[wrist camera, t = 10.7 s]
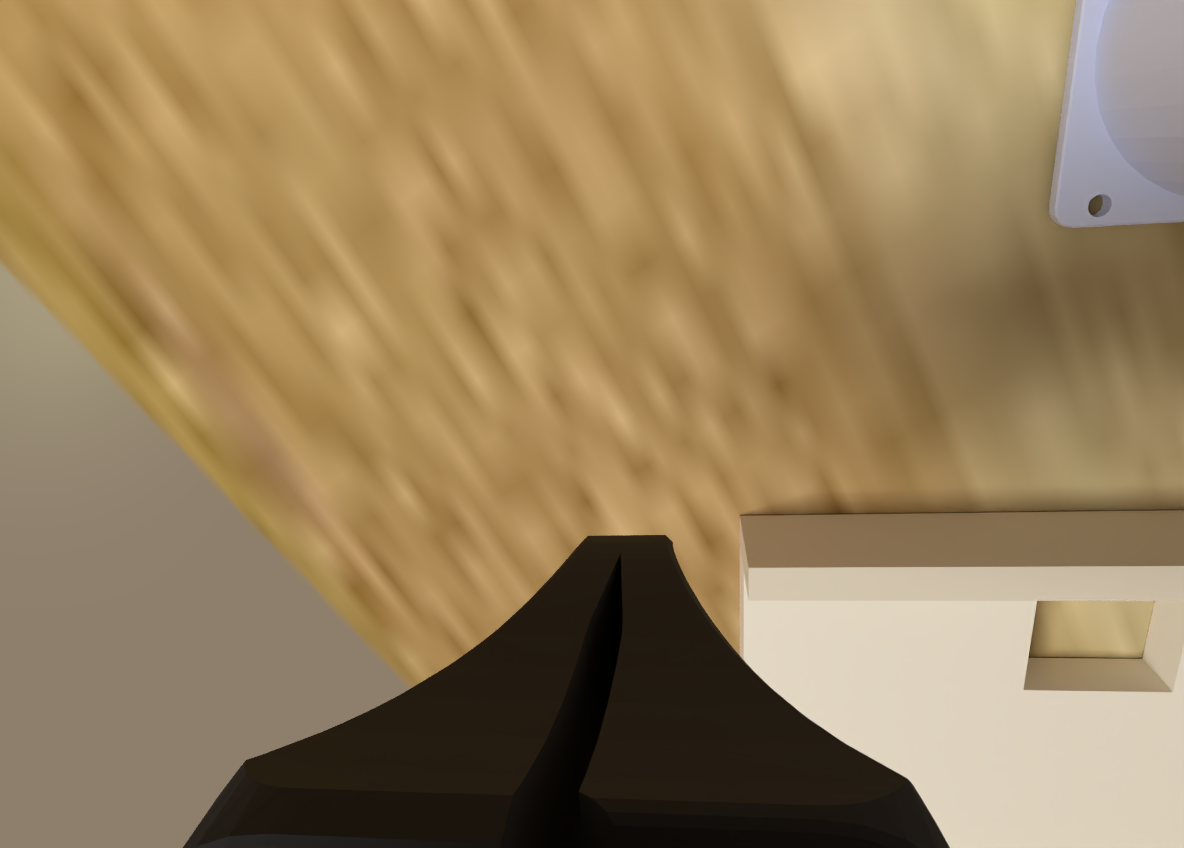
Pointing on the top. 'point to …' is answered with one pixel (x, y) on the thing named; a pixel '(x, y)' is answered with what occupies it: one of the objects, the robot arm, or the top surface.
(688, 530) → the top surface
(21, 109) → the top surface
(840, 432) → the top surface
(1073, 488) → the top surface
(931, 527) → the lane
